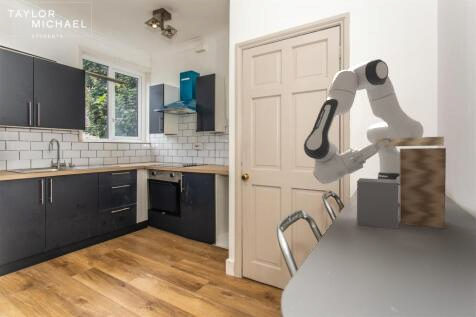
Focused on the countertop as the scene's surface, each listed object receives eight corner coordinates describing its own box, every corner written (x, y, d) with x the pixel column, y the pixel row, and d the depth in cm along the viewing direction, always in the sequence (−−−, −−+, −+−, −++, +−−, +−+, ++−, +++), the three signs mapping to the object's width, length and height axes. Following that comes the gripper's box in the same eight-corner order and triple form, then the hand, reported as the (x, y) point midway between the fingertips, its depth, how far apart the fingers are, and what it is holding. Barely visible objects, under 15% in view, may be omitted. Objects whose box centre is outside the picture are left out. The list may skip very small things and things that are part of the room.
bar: (375, 146, 93) (375, 138, 93) (375, 146, 96) (375, 138, 95) (443, 145, 83) (444, 136, 83) (442, 145, 85) (442, 136, 85)
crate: (357, 224, 87) (357, 181, 86) (359, 217, 95) (359, 178, 95) (398, 229, 81) (398, 183, 80) (396, 221, 89) (397, 179, 89)
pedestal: (400, 223, 87) (401, 148, 86) (399, 216, 95) (399, 148, 94) (444, 228, 81) (445, 148, 80) (439, 220, 89) (440, 148, 88)
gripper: (345, 153, 90) (383, 132, 84) (351, 152, 108) (383, 134, 101) (354, 168, 89) (394, 148, 82) (359, 164, 106) (393, 148, 100)
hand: (388, 141), depth 92 cm, fingers closed on bar, 3 cm apart
